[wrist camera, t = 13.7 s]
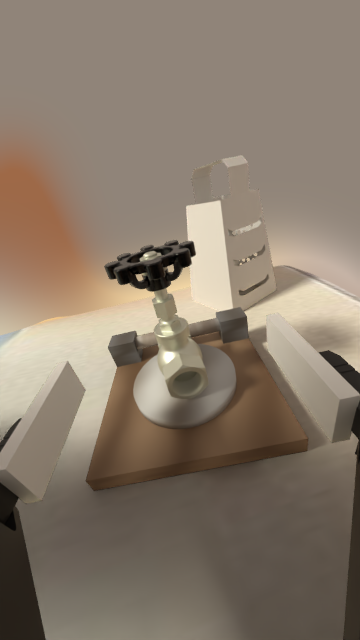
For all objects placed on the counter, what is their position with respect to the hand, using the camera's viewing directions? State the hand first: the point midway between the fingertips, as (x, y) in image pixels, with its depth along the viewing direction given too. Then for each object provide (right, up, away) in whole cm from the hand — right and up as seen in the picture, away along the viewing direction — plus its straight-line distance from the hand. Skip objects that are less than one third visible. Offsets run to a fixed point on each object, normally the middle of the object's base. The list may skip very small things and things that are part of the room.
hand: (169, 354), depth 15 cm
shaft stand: (+2, -5, +8) cm, 10 cm away
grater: (+10, +7, +25) cm, 28 cm away
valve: (+1, -3, +7) cm, 8 cm away
